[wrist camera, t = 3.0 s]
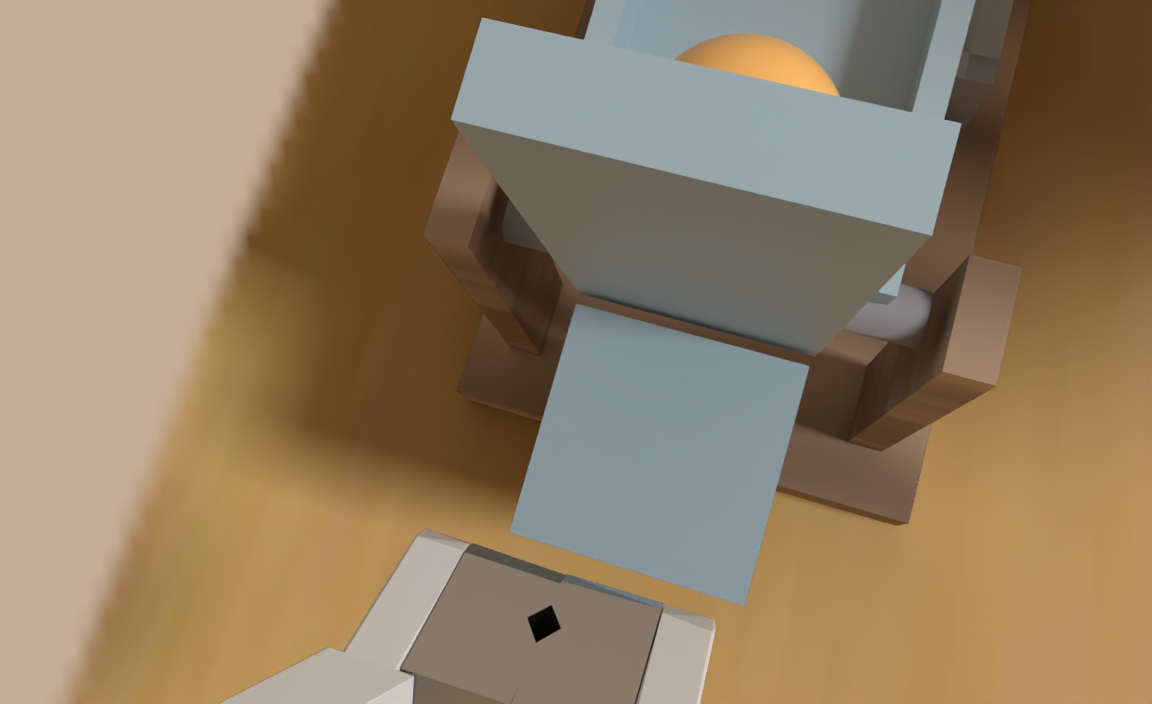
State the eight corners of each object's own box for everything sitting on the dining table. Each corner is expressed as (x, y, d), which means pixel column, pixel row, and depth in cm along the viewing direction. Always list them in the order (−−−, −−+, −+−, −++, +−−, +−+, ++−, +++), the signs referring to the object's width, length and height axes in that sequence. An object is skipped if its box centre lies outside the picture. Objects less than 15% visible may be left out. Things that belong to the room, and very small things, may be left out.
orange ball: (821, 48, 20) (840, -22, 16) (851, 238, 20) (877, 217, 16) (631, 86, 20) (604, 29, 16) (660, 271, 20) (639, 258, 16)
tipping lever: (807, 595, 25) (984, 823, 9) (488, 497, 26) (154, 542, 10) (983, -66, 26) (1405, -883, 10) (672, -125, 27) (624, -919, 12)
